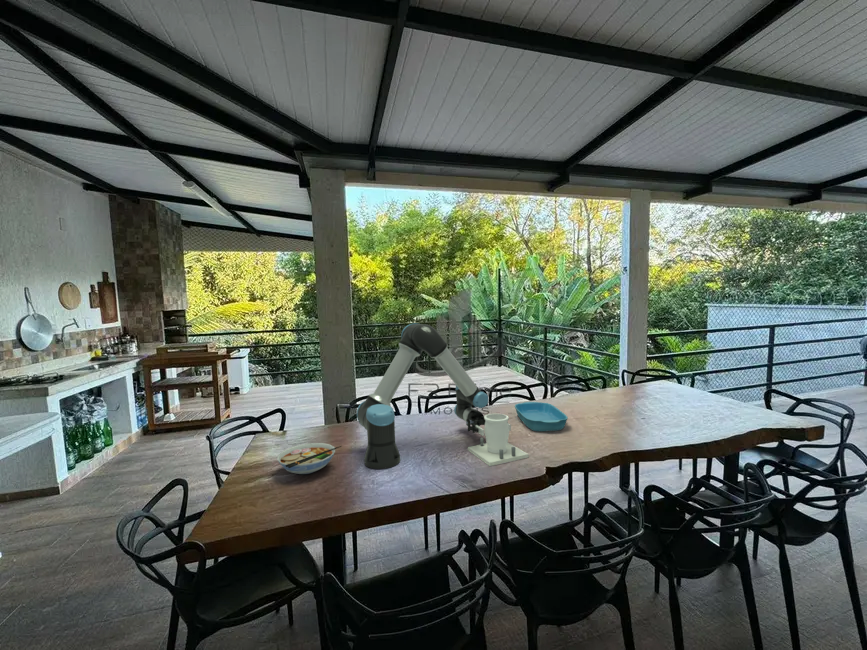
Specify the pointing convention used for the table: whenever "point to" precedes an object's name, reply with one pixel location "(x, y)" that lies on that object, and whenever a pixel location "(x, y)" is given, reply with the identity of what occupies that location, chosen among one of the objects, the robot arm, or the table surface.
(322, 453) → the ramen bowl
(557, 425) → the casserole dish
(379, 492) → the table surface
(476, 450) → the tray
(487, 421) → the jar
